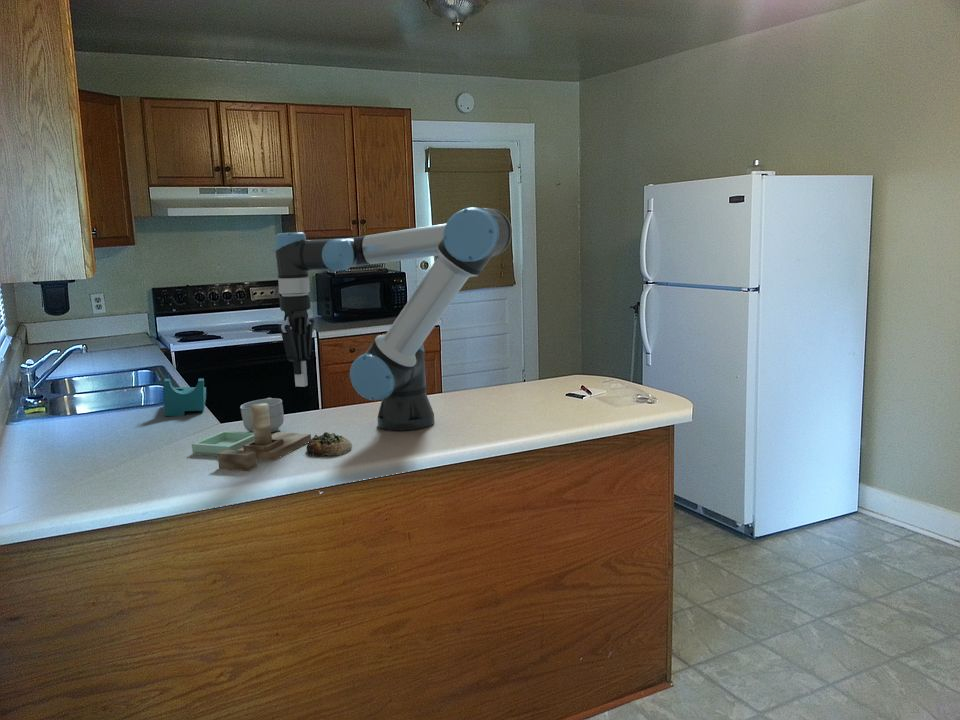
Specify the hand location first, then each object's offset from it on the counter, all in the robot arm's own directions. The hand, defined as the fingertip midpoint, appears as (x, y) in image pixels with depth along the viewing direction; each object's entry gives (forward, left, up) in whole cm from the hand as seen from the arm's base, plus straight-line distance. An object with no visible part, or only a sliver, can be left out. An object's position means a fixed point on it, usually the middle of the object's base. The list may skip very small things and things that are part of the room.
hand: (301, 385), depth 198 cm
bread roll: (-14, +12, -13) cm, 23 cm away
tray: (+12, +16, -13) cm, 24 cm away
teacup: (+13, -1, -13) cm, 18 cm away
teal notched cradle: (+54, -18, -13) cm, 58 cm away
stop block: (0, +28, -13) cm, 31 cm away
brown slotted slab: (0, +14, -13) cm, 19 cm away
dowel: (0, +18, -11) cm, 21 cm away
